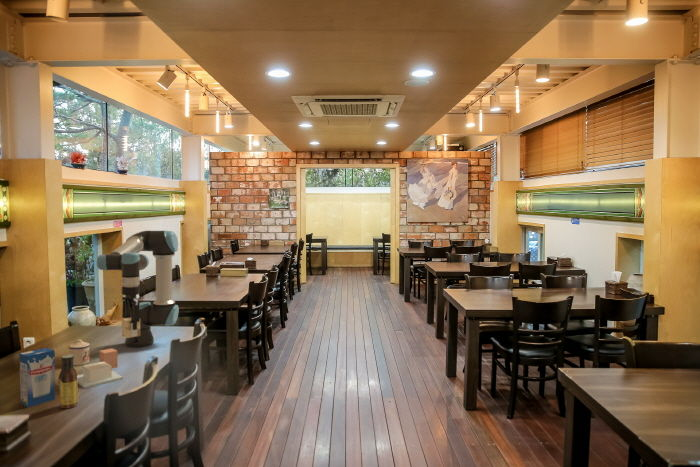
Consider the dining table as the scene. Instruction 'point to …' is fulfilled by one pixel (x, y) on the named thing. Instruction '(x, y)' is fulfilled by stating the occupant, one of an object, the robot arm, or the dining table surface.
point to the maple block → (129, 327)
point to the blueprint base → (89, 384)
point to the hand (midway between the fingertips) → (130, 334)
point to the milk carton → (37, 377)
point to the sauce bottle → (68, 383)
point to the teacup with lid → (79, 352)
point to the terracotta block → (109, 357)
